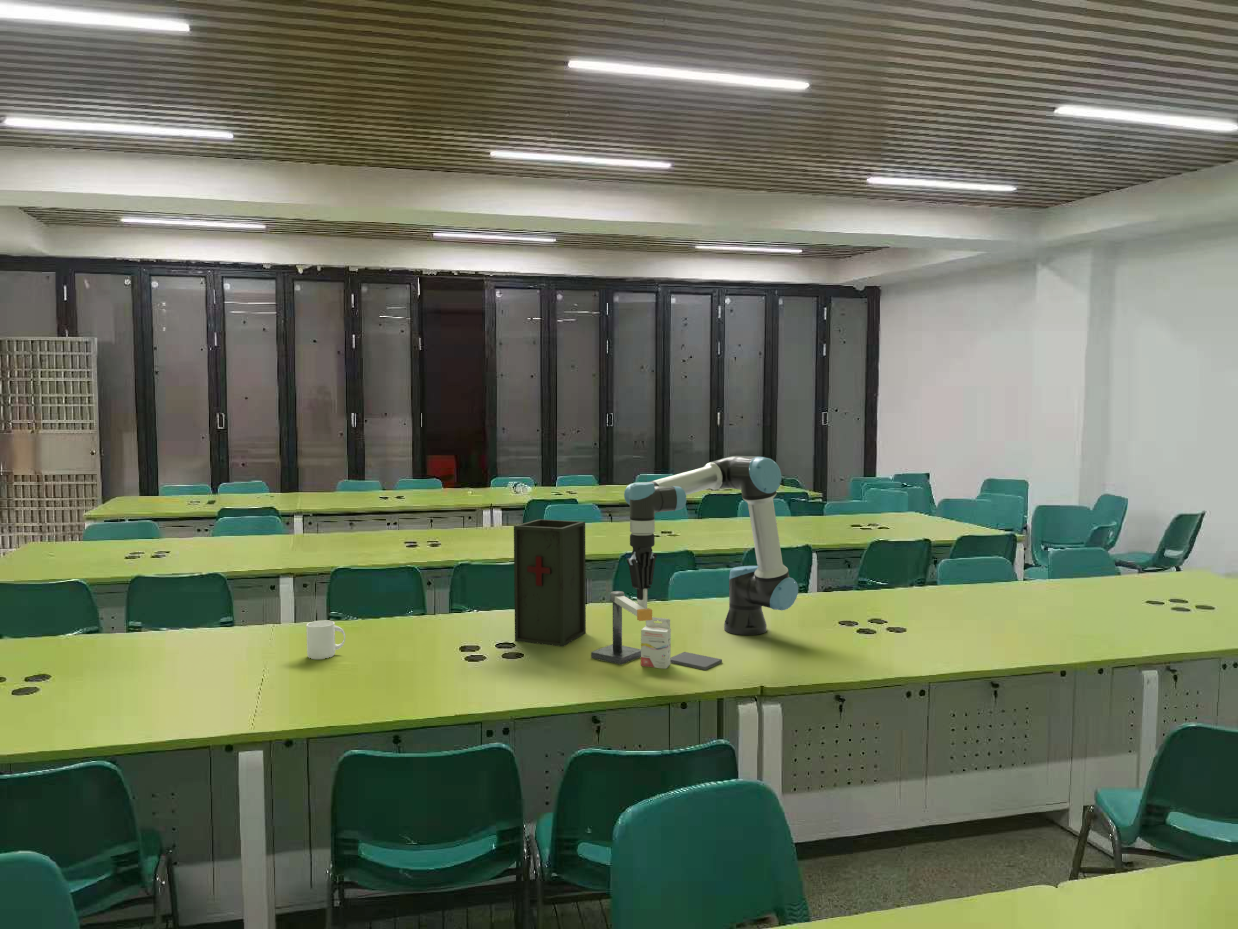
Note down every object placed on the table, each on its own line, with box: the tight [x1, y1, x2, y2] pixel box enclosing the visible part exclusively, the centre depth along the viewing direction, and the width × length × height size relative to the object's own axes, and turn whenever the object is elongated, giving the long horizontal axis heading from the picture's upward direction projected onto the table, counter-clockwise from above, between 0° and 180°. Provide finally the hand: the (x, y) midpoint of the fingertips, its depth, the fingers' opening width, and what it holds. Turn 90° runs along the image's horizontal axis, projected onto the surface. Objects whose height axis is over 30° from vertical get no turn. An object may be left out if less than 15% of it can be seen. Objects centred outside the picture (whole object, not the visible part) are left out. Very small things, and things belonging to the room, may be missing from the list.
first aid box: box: [513, 518, 587, 648], centre depth 300 cm, size 18×18×40 cm
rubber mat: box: [670, 651, 723, 671], centre depth 271 cm, size 10×14×1 cm
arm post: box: [590, 601, 641, 666], centre depth 277 cm, size 12×12×18 cm
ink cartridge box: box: [640, 616, 672, 670], centre depth 268 cm, size 9×5×15 cm, turn 71°
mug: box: [305, 619, 346, 660], centre depth 279 cm, size 9×12×11 cm
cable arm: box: [610, 590, 653, 622], centre depth 265 cm, size 27×4×3 cm, turn 20°
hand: (642, 609), depth 263 cm, fingers closed
